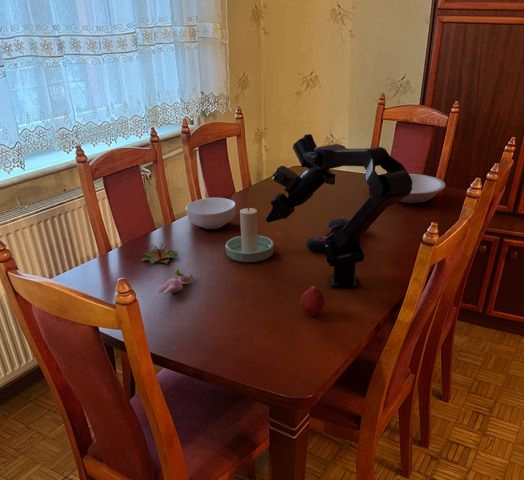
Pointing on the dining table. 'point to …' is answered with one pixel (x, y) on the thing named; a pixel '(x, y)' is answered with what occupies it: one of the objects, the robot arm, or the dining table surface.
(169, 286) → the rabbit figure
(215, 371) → the dining table surface
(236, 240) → the candle dish
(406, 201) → the soup bowl
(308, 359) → the dining table surface
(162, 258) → the lily flower
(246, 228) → the candle
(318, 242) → the toy motorcycle
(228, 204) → the cereal bowl
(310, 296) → the onion
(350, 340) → the dining table surface
